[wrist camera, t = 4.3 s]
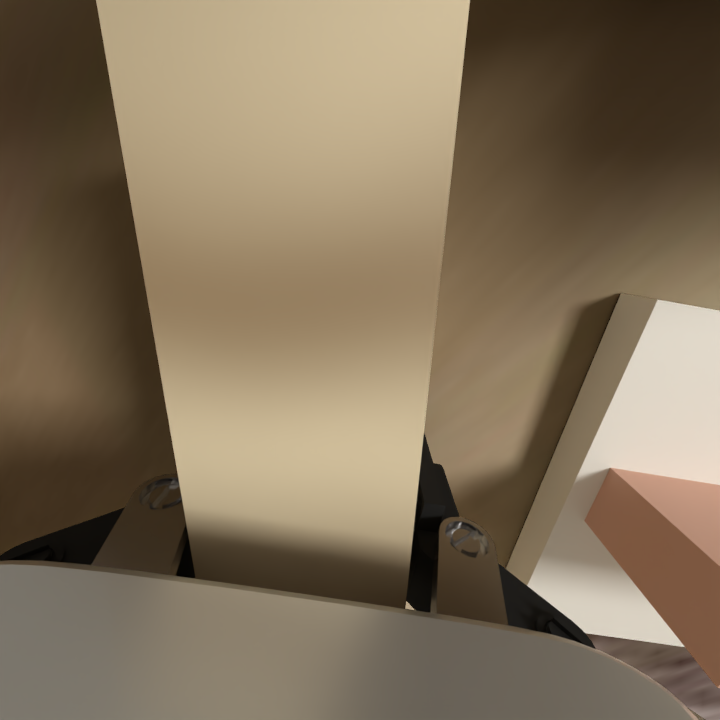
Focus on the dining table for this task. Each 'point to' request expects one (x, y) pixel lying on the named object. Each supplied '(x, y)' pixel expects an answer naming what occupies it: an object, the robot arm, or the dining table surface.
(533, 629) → the robot arm
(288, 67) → the maple bar
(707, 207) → the dining table surface
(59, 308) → the dining table surface
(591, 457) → the stand
